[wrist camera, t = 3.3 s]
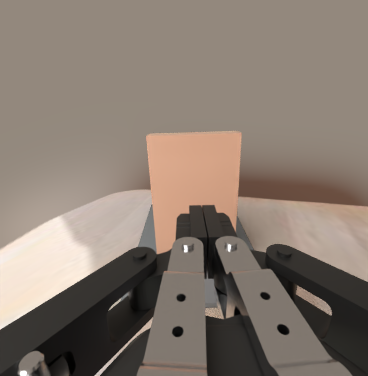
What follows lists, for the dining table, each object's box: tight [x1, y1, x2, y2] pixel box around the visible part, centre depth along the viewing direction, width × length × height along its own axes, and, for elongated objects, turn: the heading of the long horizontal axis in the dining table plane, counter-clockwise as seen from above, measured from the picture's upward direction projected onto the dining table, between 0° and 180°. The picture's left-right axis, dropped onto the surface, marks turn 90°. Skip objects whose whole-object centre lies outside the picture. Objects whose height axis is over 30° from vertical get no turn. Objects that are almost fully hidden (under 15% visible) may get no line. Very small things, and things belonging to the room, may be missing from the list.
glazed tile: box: [146, 131, 242, 254], centre depth 24 cm, size 2×9×16 cm, turn 90°
